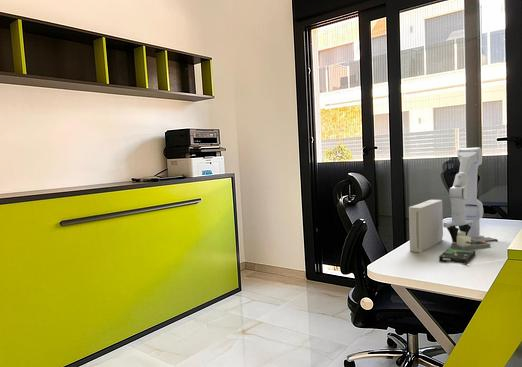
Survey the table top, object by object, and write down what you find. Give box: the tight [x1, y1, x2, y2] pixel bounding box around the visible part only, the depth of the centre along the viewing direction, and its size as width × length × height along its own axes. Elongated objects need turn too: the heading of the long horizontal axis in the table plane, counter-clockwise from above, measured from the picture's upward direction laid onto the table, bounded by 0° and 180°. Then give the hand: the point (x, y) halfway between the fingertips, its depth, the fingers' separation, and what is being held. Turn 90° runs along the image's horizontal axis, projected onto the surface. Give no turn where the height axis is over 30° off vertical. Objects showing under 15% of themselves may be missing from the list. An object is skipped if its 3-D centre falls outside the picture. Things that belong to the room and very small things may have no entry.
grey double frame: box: [451, 240, 491, 251], centre depth 177 cm, size 7×14×2 cm, turn 102°
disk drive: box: [438, 247, 476, 266], centre depth 162 cm, size 10×3×15 cm
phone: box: [471, 236, 499, 243], centre depth 187 cm, size 6×11×1 cm, turn 102°
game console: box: [408, 199, 444, 254], centre depth 185 cm, size 6×27×20 cm, turn 137°
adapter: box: [457, 235, 473, 246], centre depth 174 cm, size 7×4×5 cm, turn 12°
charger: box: [451, 230, 466, 244], centre depth 184 cm, size 4×4×6 cm
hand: (458, 241), depth 184 cm, fingers closed on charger, 4 cm apart
